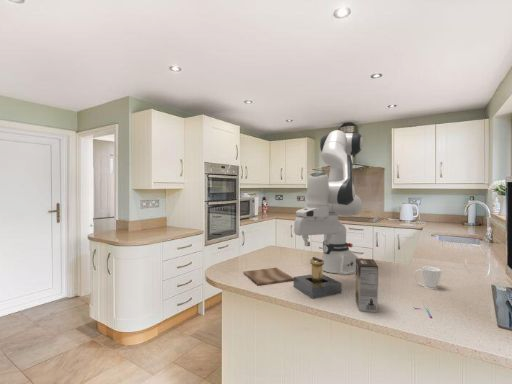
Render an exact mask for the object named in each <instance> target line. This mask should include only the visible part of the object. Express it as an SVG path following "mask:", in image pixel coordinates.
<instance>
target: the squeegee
mask: <svg viewBox="0 0 512 384" xmlns="http://www.w3.org/2000/svg"><path fill="white" fill-rule="evenodd" d="M414 308H415V309H414V310H417V309H420V308H417V307H414ZM425 309H426V308H425ZM427 309H428V308H427ZM427 309H426V310H427ZM426 312H427V314H428V316H429V318H430V319H433V316H432V314H431V312H430V311H429V309H428V310H427V311H426Z"/></svg>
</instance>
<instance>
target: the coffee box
mask: <svg viewBox="0 0 512 384" xmlns="http://www.w3.org/2000/svg"><path fill="white" fill-rule="evenodd" d="M378 295H379V265H378V264H377V263H376V261H375V259H373V258H372V259H371V258H369V259H366V258H358V259H356V272H355V299H354V300H355V303H356V306H357V309H358V311H360V312H369V313H370V312H371V313H378V298H379V297H378Z"/></svg>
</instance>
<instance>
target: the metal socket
mask: <svg viewBox="0 0 512 384" xmlns="http://www.w3.org/2000/svg"><path fill="white" fill-rule="evenodd" d="M293 278H294V281H293V288H296V289H297V290H298V291H300V292H301V293H303V294H305V295H306V296H308V297H309V298H311V299H319V298H322V297H328V296H335V295H339V294H342V292H343V290H342V289H343V285H342V284H343V283H342V282H340V281H339V280H336V279H334V278H332V277H329V276H328V275H325V274H323V273H322V283H318V284H314V283H312V282H311V280H312V273H311V274H307V275H300V276H299V275H298V276H293Z"/></svg>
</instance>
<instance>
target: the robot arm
mask: <svg viewBox="0 0 512 384" xmlns="http://www.w3.org/2000/svg"><path fill="white" fill-rule="evenodd" d="M363 146H364V139H363V137H362V134H361V133H358V132H353V133H352V132H351V133H350V132H344V131H342V130H338V129H336V130H332V131H331V132H329V133H328V134H324V135H323V136H322V137H321V138H320V141H319V149H320V151H321V157H322V160H323V163H325V164H326V165H327V166H329V167H330V168H329V173H326V172H314V173H311V174H309V176H308V180H307V189H306V192H307V194H306V195H307V202H306V207H303V208H300V209H298V210H296V211H295V215H296V217H295V220H294V224H293V226H294V227H293V228H294V229H293V232H294V234H295V235H296V236H300V237H301V238H302V240H303V241H304V246H305V247H310V246H311V242H310V241H309V240H308V238H309V236H317V235H318V236H319V235H323V242H322V250H323V251H322V252H323V253H322V258H321V259H322V260H324V265H323V269H322V272H327V273H331V274H340V275H344V276H345V275H350V274H354V273H355V274H356V259H359V257H358V256H357V255H356V254H355V253H354V252H352V251H351V250H350V249H349V248H353V246H354V245H353V243H350V242H347V228H346V226H345V225H344V224H343V223H341V222H340V221H339V216H340V217H341V216H342V217H348V216H349V217H351V216H356V215H359V214H360V212H361V211H362V208H363V202H362V199H361V198H360V197H359V195H357V194H356V188H355V186H354V185H355V184H354V170H353V169H354V167H353V161H352V157H353V158H355V157H356V155H358V154H359V153H361V151H362V149H363ZM328 174H329V175H328Z"/></svg>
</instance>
